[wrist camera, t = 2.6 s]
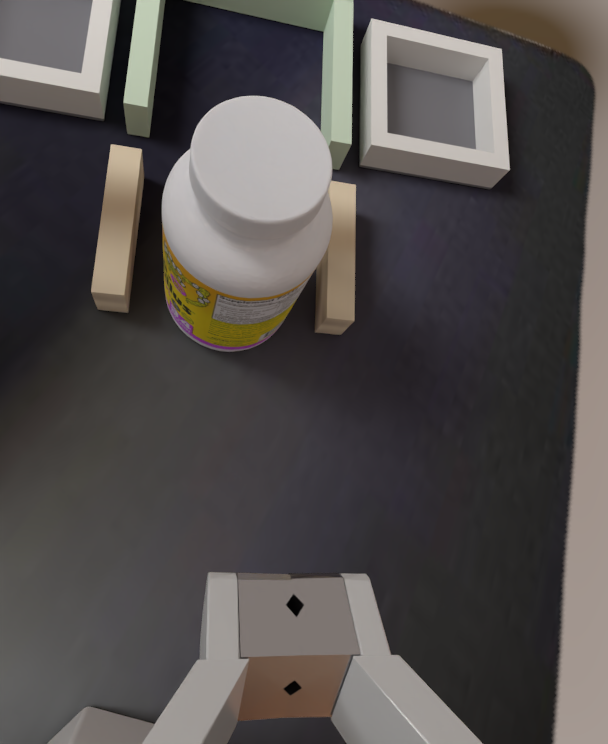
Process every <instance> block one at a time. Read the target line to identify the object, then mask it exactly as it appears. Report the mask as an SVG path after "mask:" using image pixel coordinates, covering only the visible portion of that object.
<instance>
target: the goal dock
mask: <svg viewBox="0 0 608 744" xmlns="http://www.w3.org/2000/svg"><path fill="white" fill-rule="evenodd" d="M185 1H190V2H194V3H199V4H203V5H207V6H212V7H216V8H221V9H225V10H229V11H234V12H238V13H243V14H247V15H252V16H256V17H260V18H265V19H269V20H274V21H278V22H282V23H287V24H291V25H296V26H300V27H305V28H309V29H313V30H318V31H322V32H324V38H323V73H322V109H321V133H322V134H323V136H324V138H325V140H326V142H327V144H328V147H329V150H330V154H331V158H332V169H336V170H339V169H340V167H341V165H342V163H343V161H344V159H345V157H346V155H347V153H348V151H349V149H350V147H351V145H352V68H353V0H185ZM164 7H165V0H137V3H136V11H135V18H134V26H133V33H132V41H131V48H130V56H129V63H128V71H127V79H126V86H125V94H124V101H123V104H124V112H125V120H126V128H127V134H132V135H137V136H143V137H149V135H150V127H151V118H152V110H153V101H154V92H155V84H156V75H157V67H158V58H159V50H160V41H161V32H162V24H163V15H164Z"/></svg>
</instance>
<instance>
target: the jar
mask: <svg viewBox="0 0 608 744" xmlns="http://www.w3.org/2000/svg"><path fill="white" fill-rule="evenodd" d="M153 726H154V724H153V723H149V722H146V721H142V720H138V719H134V718H131V717H127V716H123V715H120V714H116V713H112V712H108V711H105V710H101V709H97V708H94V707H85V708H84V709H83V710H82V711H80V712H79V713H78V714H77V715H76V716H75V717H74V718H73V719H72V720H71V721H70V722H69V723H68V724H67V725H66V726H65V727H64V728H63V729H62V730H61V731H60V732H58V733H57V734H56V735H55V736H54V737H53V738H52V739H51V740H50V741H49V742H48V743H47V744H142V742H143V741H144V739H145V738H146V736H147V735H148V733H149V732H150V730H151V729H152V727H153Z"/></svg>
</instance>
